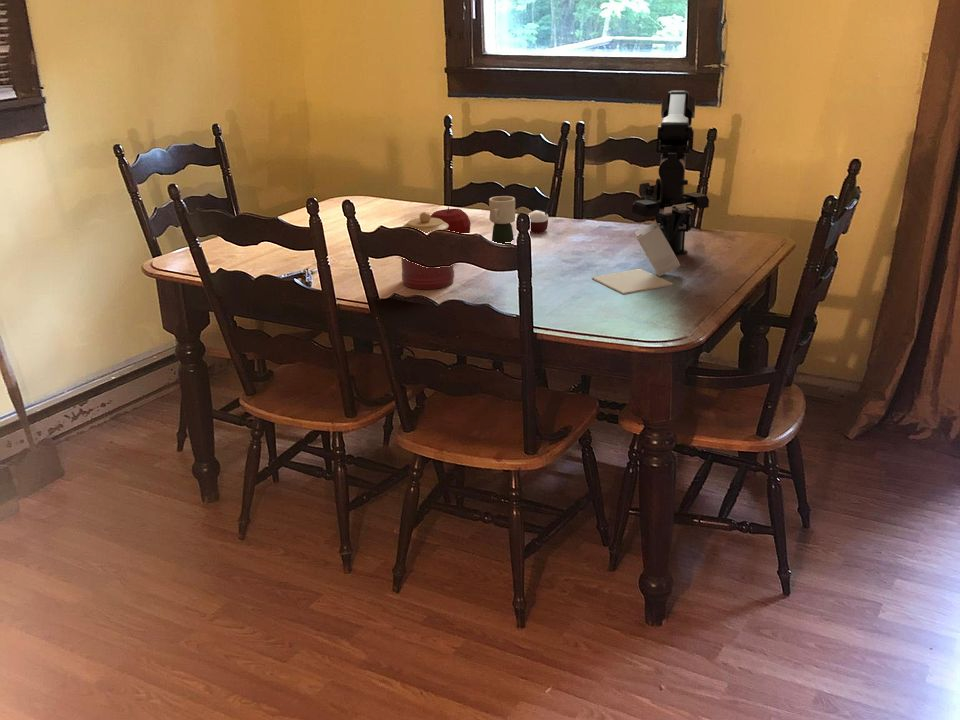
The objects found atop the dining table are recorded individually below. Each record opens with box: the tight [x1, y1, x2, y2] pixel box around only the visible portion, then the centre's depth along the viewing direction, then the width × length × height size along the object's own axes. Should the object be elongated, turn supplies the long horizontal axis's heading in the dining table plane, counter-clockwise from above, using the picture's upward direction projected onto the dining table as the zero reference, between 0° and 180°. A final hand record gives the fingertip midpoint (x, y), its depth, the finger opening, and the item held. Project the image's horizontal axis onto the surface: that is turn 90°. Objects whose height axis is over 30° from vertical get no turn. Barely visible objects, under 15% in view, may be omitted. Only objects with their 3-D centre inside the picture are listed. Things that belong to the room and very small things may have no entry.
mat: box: [591, 268, 674, 295], centre depth 226 cm, size 14×14×1 cm
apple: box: [430, 206, 472, 234], centre depth 250 cm, size 12×12×13 cm
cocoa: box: [528, 189, 555, 234], centre depth 270 cm, size 10×6×12 cm, turn 62°
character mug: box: [488, 195, 516, 245], centre depth 258 cm, size 11×7×13 cm, turn 156°
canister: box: [400, 211, 455, 290], centre depth 228 cm, size 13×13×18 cm
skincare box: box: [634, 221, 681, 277], centre depth 228 cm, size 6×4×12 cm
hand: (669, 239), depth 227 cm, fingers closed
